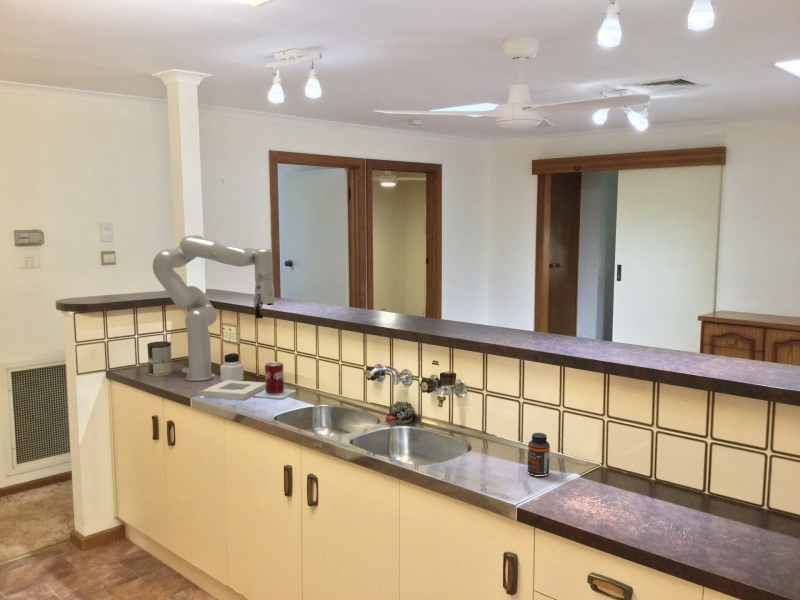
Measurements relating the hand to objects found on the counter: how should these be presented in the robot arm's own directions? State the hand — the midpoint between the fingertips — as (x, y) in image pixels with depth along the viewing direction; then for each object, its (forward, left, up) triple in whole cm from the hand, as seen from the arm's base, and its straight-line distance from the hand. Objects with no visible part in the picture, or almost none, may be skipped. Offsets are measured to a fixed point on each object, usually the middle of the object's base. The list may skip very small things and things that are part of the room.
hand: (264, 316), depth 295 cm
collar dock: (-2, -23, -28) cm, 37 cm away
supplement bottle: (+125, -78, -28) cm, 150 cm away
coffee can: (-53, -2, -28) cm, 60 cm away
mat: (+15, -21, -28) cm, 38 cm away
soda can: (+15, -21, -28) cm, 38 cm away
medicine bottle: (-14, -5, -28) cm, 32 cm away
